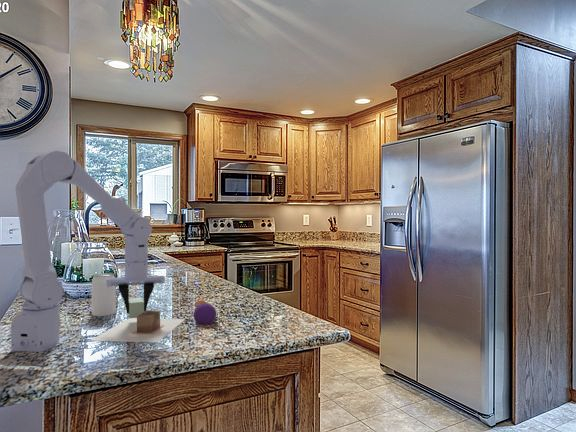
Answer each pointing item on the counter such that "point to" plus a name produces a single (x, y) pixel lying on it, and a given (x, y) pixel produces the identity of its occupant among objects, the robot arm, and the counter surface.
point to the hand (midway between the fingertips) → (136, 311)
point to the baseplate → (129, 331)
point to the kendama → (204, 313)
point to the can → (103, 295)
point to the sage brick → (136, 307)
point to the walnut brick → (148, 321)
